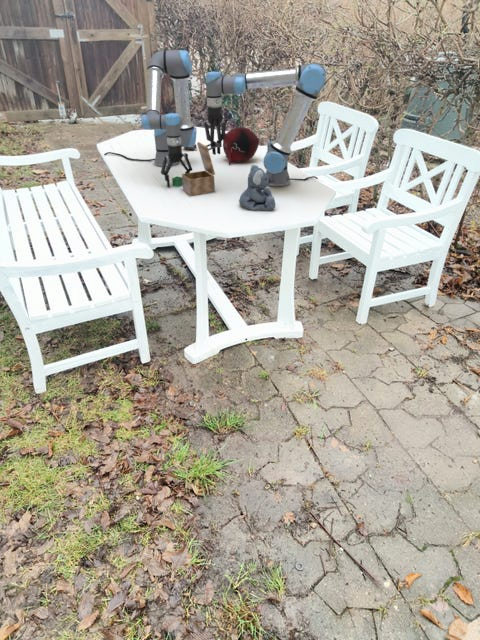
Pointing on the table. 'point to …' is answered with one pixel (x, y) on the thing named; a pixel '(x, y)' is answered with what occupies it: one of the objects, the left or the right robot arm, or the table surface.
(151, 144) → the table surface
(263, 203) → the koala plush
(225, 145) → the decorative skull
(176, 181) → the block
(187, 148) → the rock
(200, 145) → the lid
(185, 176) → the chest
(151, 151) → the table surface
